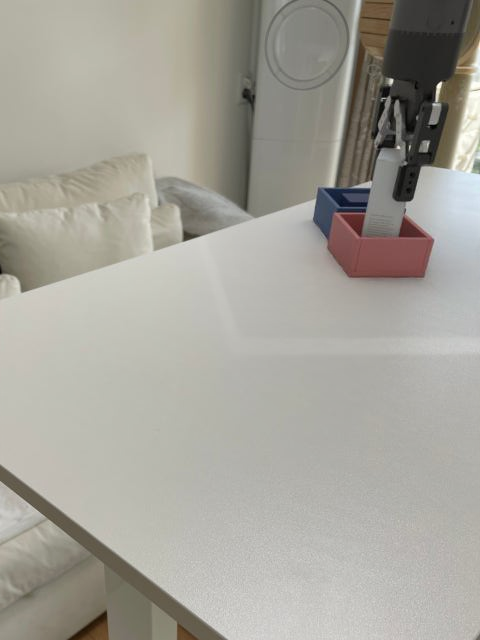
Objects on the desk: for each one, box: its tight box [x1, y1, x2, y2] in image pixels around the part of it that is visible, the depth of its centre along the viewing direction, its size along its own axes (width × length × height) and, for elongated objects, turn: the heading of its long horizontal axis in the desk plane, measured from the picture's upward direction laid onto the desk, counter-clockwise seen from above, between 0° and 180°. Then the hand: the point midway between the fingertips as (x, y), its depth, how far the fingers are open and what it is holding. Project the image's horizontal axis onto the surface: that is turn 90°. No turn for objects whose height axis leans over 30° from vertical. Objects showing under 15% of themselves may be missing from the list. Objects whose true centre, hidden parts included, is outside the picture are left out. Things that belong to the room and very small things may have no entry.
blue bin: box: [312, 186, 407, 241], centre depth 89 cm, size 9×10×5 cm
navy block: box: [339, 193, 370, 207], centre depth 89 cm, size 4×4×4 cm
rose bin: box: [326, 213, 435, 278], centre depth 80 cm, size 9×10×5 cm
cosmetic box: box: [361, 148, 410, 237], centre depth 77 cm, size 6×4×12 cm
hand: (390, 191), depth 76 cm, fingers closed on cosmetic box, 7 cm apart
